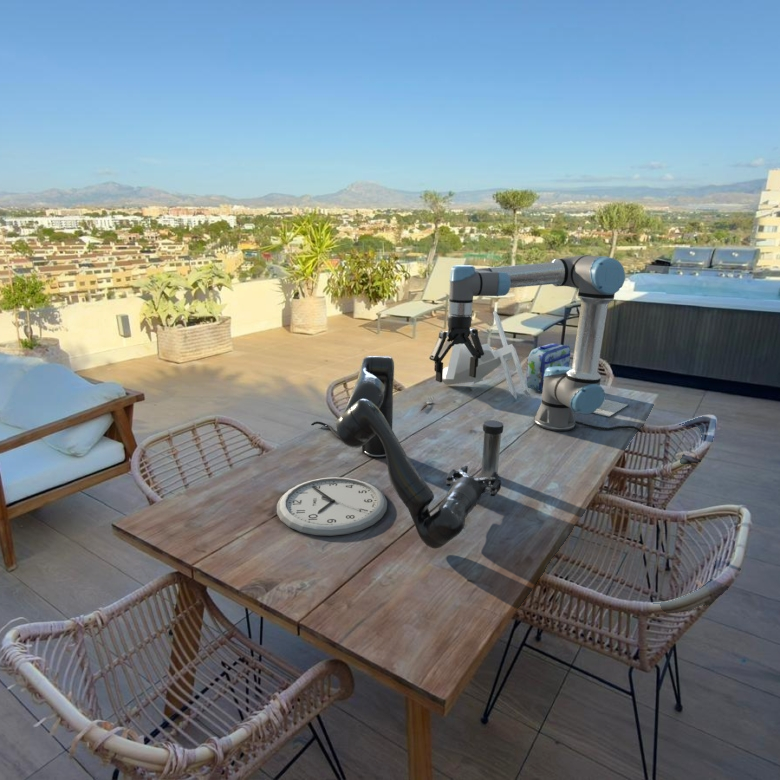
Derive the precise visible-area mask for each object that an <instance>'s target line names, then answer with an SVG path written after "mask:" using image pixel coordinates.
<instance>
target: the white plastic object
mask: <svg viewBox="0 0 780 780" xmlns="http://www.w3.org/2000/svg"><path fill="white" fill-rule="evenodd" d="M492 315H493V319H494V321H495V324H496V325H495V326H496V328H497V332H498V335H499V338H500V342H501V345H502V347H500V348H498V349H496V350H495V349H493V348H492V347H491V346H490V344H489V343H488V342H487V343H483V344H481V346H482V349H483V352H484V355H483V356H481V358H480V359H478V367H476V377H475V378H474V377H471V376H469V369H470V357H473V356H472V354H471V353H470V351H469V350H468V348H467V347H466V346H465V344H454V346H452V347H451V348H452V349H451V353H450V357H449V362H448V366H446V367H443V377H442V383H443V384H444V385H445V386H449V385H458V384H467V383H468V384H469V383H473V384H477V383H480V382H482V381H484V378H485V377H486V376H487V375H489V374H490V373H492V372H494V371H495V370H496V369H497V368H499V367H500V366H502V370H503V373H504V376H505V380H506V383H507V386H508V390H509V393H510V394H511V395H512V397H513V398H514V399H515V400H517V392H516V391H517V390H516V388H515V385H514V381H513V378H512V375H511V371H510V369H509V365H508V361H510V360H513V363H514V366H515V369H516V372H517V376H518V380H519V382H520V385H521V389H522V391H523V393H524V395H525V396H526V397H528V396H531V395H530V389H529V388H528V387H527V384H526V381H527V380H526V378H525V375H524V371H523V369H522V368H523V367H522V366H521V362H520V359H519V355H518V352H517V349H516V347H515V346H514V345H513V343H511V344H508V341H507V337H506V334H505V331H504V328H503V325H502V321H501V318H500V315H499V314H498V312H497V311H496V310H495V311H492ZM474 348H475V347H474Z"/></svg>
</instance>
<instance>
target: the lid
mask: <svg viewBox="0 0 780 780" xmlns="http://www.w3.org/2000/svg"><path fill="white" fill-rule="evenodd" d="M482 431H483V432H485V433H488V434H494V435H496V434H501V435H502V433H503V432H504V423H503V422H501V421H499V420H491V419H490V420H486V421H484V422H483V424H482Z"/></svg>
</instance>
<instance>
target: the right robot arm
mask: <svg viewBox="0 0 780 780" xmlns="http://www.w3.org/2000/svg"><path fill="white" fill-rule="evenodd" d="M625 280H626V272H625V268H624V266H623V264H622V263H621V261H619V260H618V259H616V258H613V257H609V256H606V255H603V256H601V255H590V254H581V255H575V256H569V257H563V258H555V259H553V260H552V261H551V262H542V263H541V262H540V263H539V262H538V263H528V264H517V265H504V266H494V267H482V268H480V267H479V268H476V267H475V266H474V265H467V264H465V265H464V264H457V265H453V266H452V267H451V269H450V275H449V291H448V292H449V297H448V309H447V310H448V315H447V331H444V330H440V331H438V338H437V340H436V342H435V344H434V347H433V349H432V351H431V354H430V355H429V360H430V361H433V362H434V372H435V381H436V382H439V383H443V381H442V377H443V369H444V362H443V360H444V358H445V357H446V356H447V354H448V353H449V351H450V350H451V348H453V346H454V344H465V346H466V347H467V348H468V350H469V351H470V353H471V354H472V356H473V357H470V369H469V376H471V377H474V378H475V377H476V367H478V359H480V358H481V356H483V355H484V352H483V349H482V346H481V345H482V343H481V340H480V337H479V330H478V329H477V328H474V327H472V319H473V318H472V316H471V315H472V314H473V305H474V303H473V302H474V297H503V296H506V295H508V294H509V292H510V290H511V289H514V288H524V287H535V286H547V285H553V286H554V287H568V288H574V289H575V288H576V289H578V291H577V297H578V299H579V300H580V301H581V302H580V310H579V317H578V324H577V330H576V338H575V342H574V351H573V357H572V363H571V366H569V367H562V366H557V367H549V368H547V369H546V370H545V373H544V382H543V392H541V393H542V394H541V402H540V405H539V407H538V410H537V411H536V413H535V417H534V424H535V425H536V426H537V427H539V428H542V429H544V430H549V431H556V432H567V431H572V430H574V429H575V428H576V425H580V426H584V427H587V428H592V429H596V430H604V431H612V430H617V429H632V430H633V429H634V430H636V431H637V432H639V433H640V434H641V433H642V434H643V430H642V429H640V428H639V427H637V426H634V425H615V426H611V427H605V426H597V425H594V424H588V423H585V422H581V421H579V420H578V421H577V420H576V418H575V417H576V416H575V413H574V412H576V413H579V414H581V415H590V414H593V413H592V412H594V411H596V410H597V409H598V408H599V407H600V406H601V405H602V403H603V401H604V399H605V398H606V392H605V389H603V386H601V379H602V376H601V375H600V373H599V371H598V369H599V363H600V358H601V351H602V344H603V338H604V332H605V326H606V321H607V313H608V308H609V304H610V303H611V302H612V301H613V300H614V299H615V294H617V293H618V292H619V291H620V289H621V288H622V287H623V286H624V283H625ZM469 337H470V338H471V339H470V338H469ZM474 347H475V348H474Z"/></svg>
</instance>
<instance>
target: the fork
mask: <svg viewBox="0 0 780 780" xmlns="http://www.w3.org/2000/svg"><path fill="white" fill-rule="evenodd" d="M434 399H435V396H429V397H428V398H427V399H426V403H425V404H424V405H423V406H422V407H421V409H420V411H423V410H424V409H426V408H427V407H428V405H430V404H433V402H434Z"/></svg>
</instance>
